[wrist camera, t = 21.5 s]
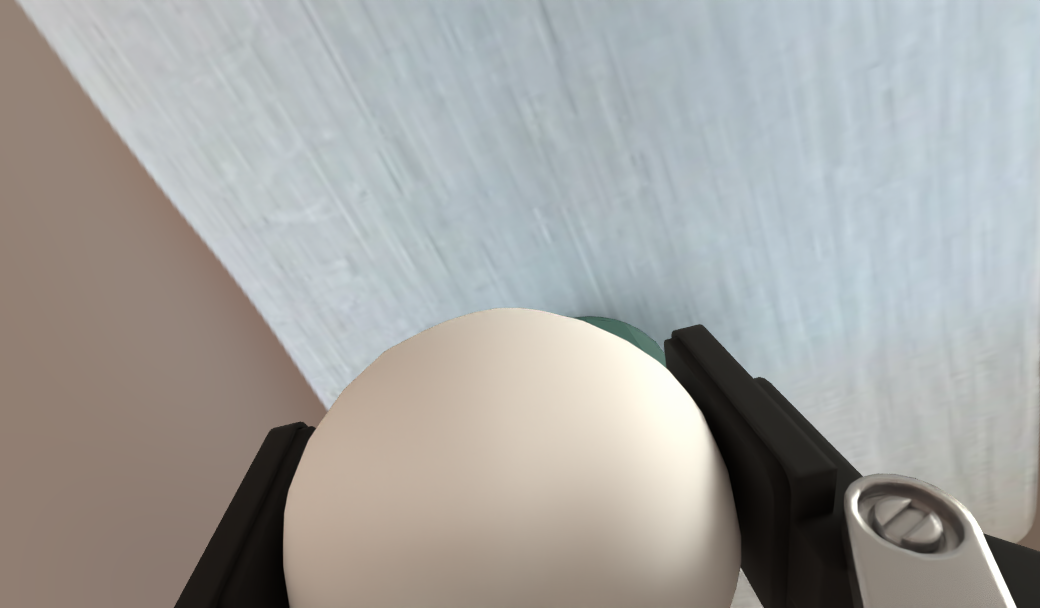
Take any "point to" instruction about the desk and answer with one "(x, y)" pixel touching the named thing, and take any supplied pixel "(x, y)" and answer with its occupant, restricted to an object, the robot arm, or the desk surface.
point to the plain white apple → (512, 478)
